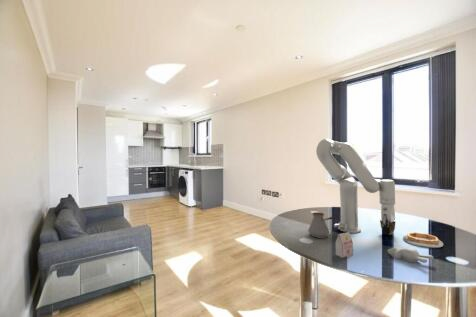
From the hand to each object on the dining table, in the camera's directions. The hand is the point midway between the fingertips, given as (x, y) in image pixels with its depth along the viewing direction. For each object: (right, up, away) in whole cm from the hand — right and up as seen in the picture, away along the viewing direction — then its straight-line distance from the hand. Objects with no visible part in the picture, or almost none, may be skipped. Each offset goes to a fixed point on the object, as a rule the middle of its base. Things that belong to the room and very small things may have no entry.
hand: (388, 231), depth 128 cm
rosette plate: (+10, -1, -12) cm, 16 cm away
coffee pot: (-38, -2, -5) cm, 38 cm away
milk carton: (-38, -2, -26) cm, 46 cm away
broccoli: (0, -2, 0) cm, 2 cm away
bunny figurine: (-13, -2, -32) cm, 35 cm away
